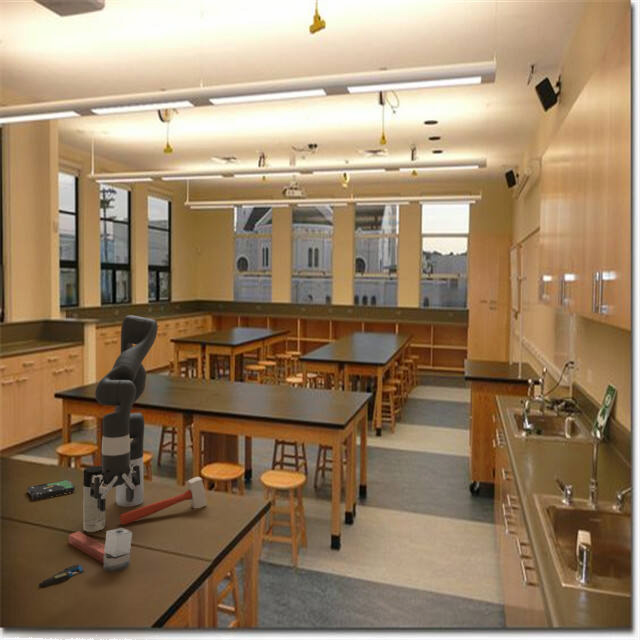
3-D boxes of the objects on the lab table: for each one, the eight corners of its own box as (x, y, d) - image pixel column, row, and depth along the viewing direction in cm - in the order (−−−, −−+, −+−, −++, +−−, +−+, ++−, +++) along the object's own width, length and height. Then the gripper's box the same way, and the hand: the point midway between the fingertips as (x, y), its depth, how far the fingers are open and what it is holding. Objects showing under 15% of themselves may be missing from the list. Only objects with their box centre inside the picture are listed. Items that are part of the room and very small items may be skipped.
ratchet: (63, 545, 165) (62, 525, 165) (84, 537, 171) (84, 517, 171) (112, 574, 149) (112, 551, 149) (134, 564, 155) (134, 542, 155)
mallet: (120, 509, 179) (203, 478, 196) (116, 505, 181) (199, 475, 199) (125, 539, 180) (207, 505, 198) (121, 535, 183) (203, 502, 200)
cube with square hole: (104, 551, 154) (106, 530, 154) (119, 547, 158) (122, 527, 158) (114, 557, 151) (116, 535, 151) (129, 552, 155) (132, 532, 155)
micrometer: (79, 561, 154) (86, 568, 150) (78, 568, 154) (86, 575, 150) (34, 576, 145) (41, 583, 141) (34, 583, 145) (40, 590, 142)
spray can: (100, 522, 182) (100, 464, 181) (108, 528, 178) (108, 469, 177) (80, 528, 178) (79, 468, 177) (88, 534, 173) (87, 473, 172)
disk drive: (32, 502, 199) (75, 493, 209) (32, 495, 199) (75, 486, 208) (27, 494, 207) (68, 485, 217) (27, 486, 207) (68, 478, 216)
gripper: (130, 442, 160) (130, 495, 161) (85, 453, 149) (85, 510, 150) (145, 447, 156) (145, 502, 157) (99, 459, 144) (99, 518, 145)
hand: (115, 506), depth 153 cm, fingers open, 8 cm apart
